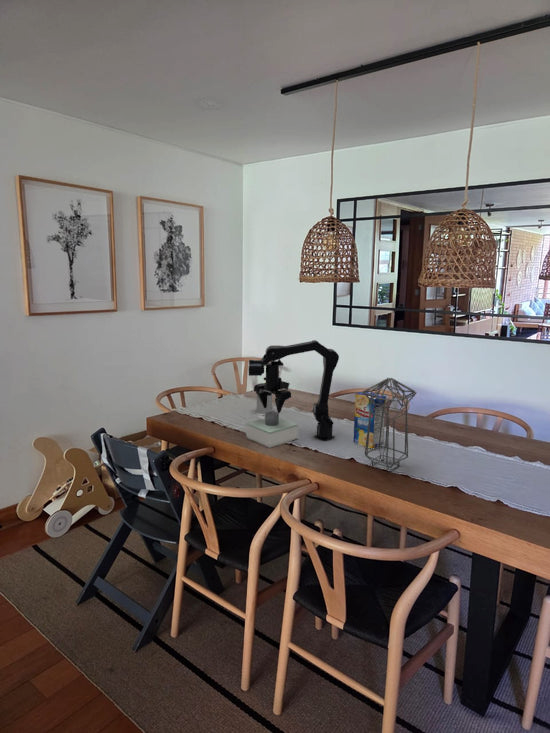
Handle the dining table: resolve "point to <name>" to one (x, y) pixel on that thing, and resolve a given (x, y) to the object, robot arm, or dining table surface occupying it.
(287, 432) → the box
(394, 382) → the geometric lantern
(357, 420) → the beverage box
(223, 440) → the dining table surface
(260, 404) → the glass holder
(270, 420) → the gray rounded pebble
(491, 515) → the dining table surface
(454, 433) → the dining table surface
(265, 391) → the robot arm
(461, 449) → the dining table surface
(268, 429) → the lid
